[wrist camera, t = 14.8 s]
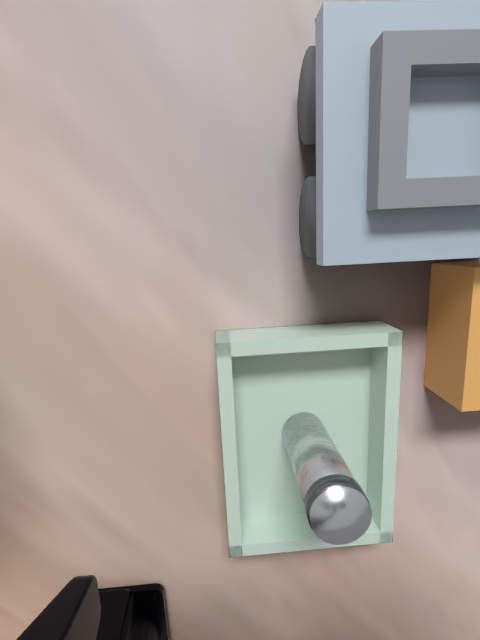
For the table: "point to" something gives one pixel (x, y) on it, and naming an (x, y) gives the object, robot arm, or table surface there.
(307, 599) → the table surface
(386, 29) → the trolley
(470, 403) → the orange rectangular block
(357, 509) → the pin
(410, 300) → the table surface
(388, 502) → the tray
